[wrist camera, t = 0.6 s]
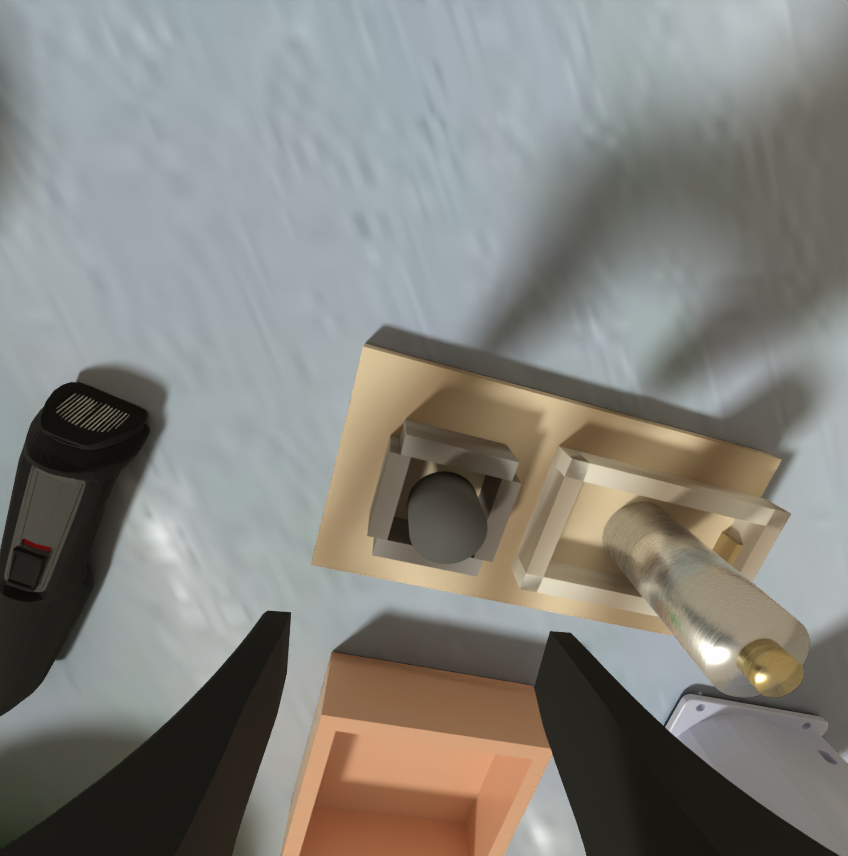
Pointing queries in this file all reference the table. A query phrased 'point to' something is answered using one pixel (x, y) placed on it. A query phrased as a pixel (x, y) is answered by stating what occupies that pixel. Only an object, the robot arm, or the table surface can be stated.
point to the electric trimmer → (57, 526)
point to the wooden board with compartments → (529, 488)
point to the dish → (415, 763)
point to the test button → (445, 518)
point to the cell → (708, 604)
